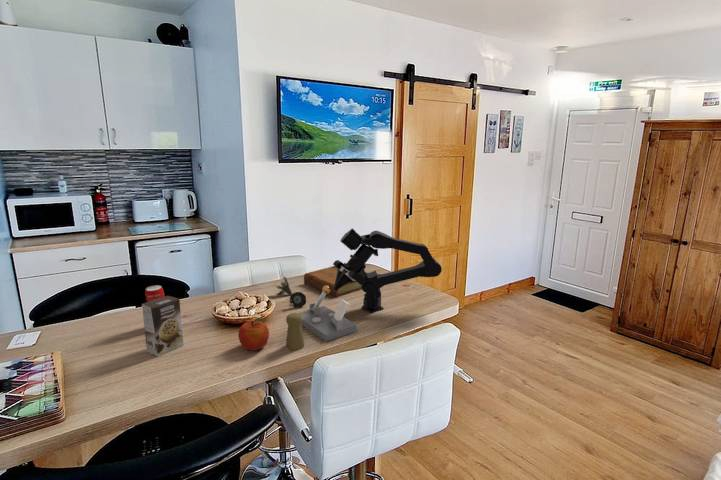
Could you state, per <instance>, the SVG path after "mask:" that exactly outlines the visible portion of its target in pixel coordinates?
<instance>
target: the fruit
mask: <svg viewBox="0 0 721 480" xmlns="http://www.w3.org/2000/svg"><path fill="white" fill-rule="evenodd" d="M269 330H270V329H269V328H268V326H267V325H266V324H265V320H264V319H263V318H261V317H257V318H255V319H254V320H252V319H251V320H250V321H248V322H245V323H243V324H242V325H241V326H240V328H239V330H238V335H237V336H238V341H239V342H240V345H241V346H242V347H243V348H244V349H246V350H249V351H258V350H260V349H262V348H265V346H266V344H268V340H269V337H270V332H269Z"/></svg>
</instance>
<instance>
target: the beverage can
mask: <svg viewBox="0 0 721 480" xmlns="http://www.w3.org/2000/svg"><path fill="white" fill-rule="evenodd" d="M144 294H145V300H146V302H149V301H153V300H156V299H159V298H162V297H165V296H166V295H165V292H164V288H163V287H162V285H160V284H159V285H158V284H156V285H150V286H147V287H146V288H145V291H144Z"/></svg>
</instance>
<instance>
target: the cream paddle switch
mask: <svg viewBox="0 0 721 480" xmlns="http://www.w3.org/2000/svg"><path fill="white" fill-rule="evenodd" d="M338 302H339V304H338V306H337V309H336V310H335V311H334V312H335V315H334V317H332V318H331V320H330V321H331V322H332V323H333V324H334V325H335V326H336V321H339V320H342V318H343V317H344V315H345V313H346V312H347V309H348V308H349V307H350V305H351V304H350V303H349V302H347V301H346V300H345V299H342V298H340V299H339V301H338Z"/></svg>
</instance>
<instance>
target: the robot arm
mask: <svg viewBox="0 0 721 480" xmlns="http://www.w3.org/2000/svg"><path fill="white" fill-rule="evenodd" d="M340 243H341V244H343V245H344V246H345V247H347V248H348V249H349V250H350V251H355V252H354V253H353V254H350V255H349V257H350V258H349V260H348V261H347V262H346V261H345V262H344V263H343V261H340V260H338V259H337V260H334V261H333V263H332V265H333V266H335V267H337V268H338V269H337V270H338V271H337V277H336V281H335V285H334V290H338V289H339V288H341V287H342V286H344V285H345V284H347V283H351V282H353V283H355V282H354V280H355V281H357V282H358V284H360V285H361V288H362V289H361V290H362V291H363V292H364V294H363V295H364V296H363V300H362V301H363V305H361V308H362V309H364V310H366V311H368V313H369V312H370V313H375V312H376V311H377V312H378V311H381V310H384V307H383V306H382V291H381V289H382V288H383V287H384V286H387V285H392V284H395V283H399V282H404V281H406V280H407V281H408V280H411V279H416V278H420V277H421V278H436V277H439V276H440V274H441V273H442V265H441V264H440V263H439V261H438V260H437V259H435V258H434V257H433V255H432V254H431V252H430V251H429V248H428V247H427V246H426V244H424V243H418V242H414V241H410V240H409V241H408V240H404V239H400V238H398V237H397V238H396V237H393V236H390V235H388V234H386V233H384V232H382V231H379V230H373V231H371V232H370V233H367V234H364V235H361V234H359V233H358V232H357V231H356V230H355V229H354V228H350V230H348V231H347V232H345V233H344V235H343V236H342V237H341V239H340ZM379 249H380V250H381V249H384V250H385V249H394V250H397V251H402V252H406V253H410V254H415V255H419V256H420V258H421V259H422V261H420V262H419V263H418V264H417V265H413V266H410V267H405V268H402V269H397V270H393V271H390V272H386V273H385V272H384V273H381V274H379V273H377V270H373V271H370V272H366V270H365V269H366V268H367V265H366V263H367V262H368V261H369V259H370V258H371V257H372V256H373V255H374V257H378V256H379Z"/></svg>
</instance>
